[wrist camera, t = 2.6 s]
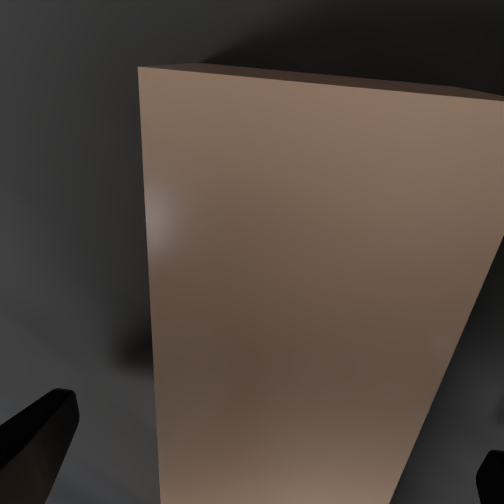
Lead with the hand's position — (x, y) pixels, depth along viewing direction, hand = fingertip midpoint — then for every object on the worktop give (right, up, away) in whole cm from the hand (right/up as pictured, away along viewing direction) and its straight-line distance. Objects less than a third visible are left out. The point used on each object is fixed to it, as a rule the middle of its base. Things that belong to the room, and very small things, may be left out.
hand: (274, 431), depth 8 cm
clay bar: (0, +1, +1) cm, 1 cm away
